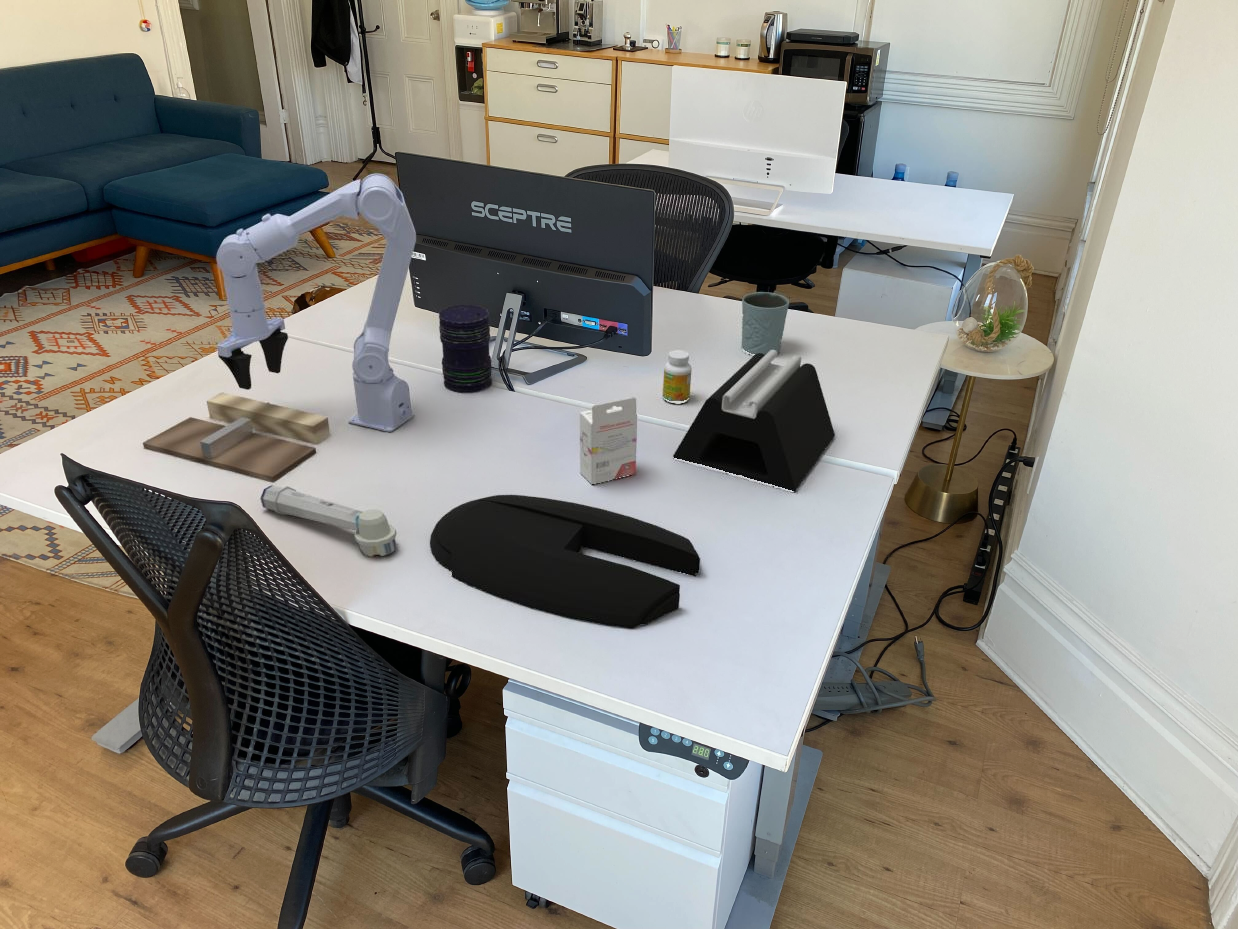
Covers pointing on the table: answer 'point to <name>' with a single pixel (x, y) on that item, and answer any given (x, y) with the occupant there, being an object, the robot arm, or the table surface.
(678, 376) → the supplement bottle
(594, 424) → the ink cartridge box
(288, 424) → the beech rod
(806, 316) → the table surface
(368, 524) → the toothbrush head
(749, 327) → the embossed green cup
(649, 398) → the table surface
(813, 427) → the device stand
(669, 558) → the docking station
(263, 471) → the board
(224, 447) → the ridge
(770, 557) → the table surface
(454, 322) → the storage jar
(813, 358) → the table surface
